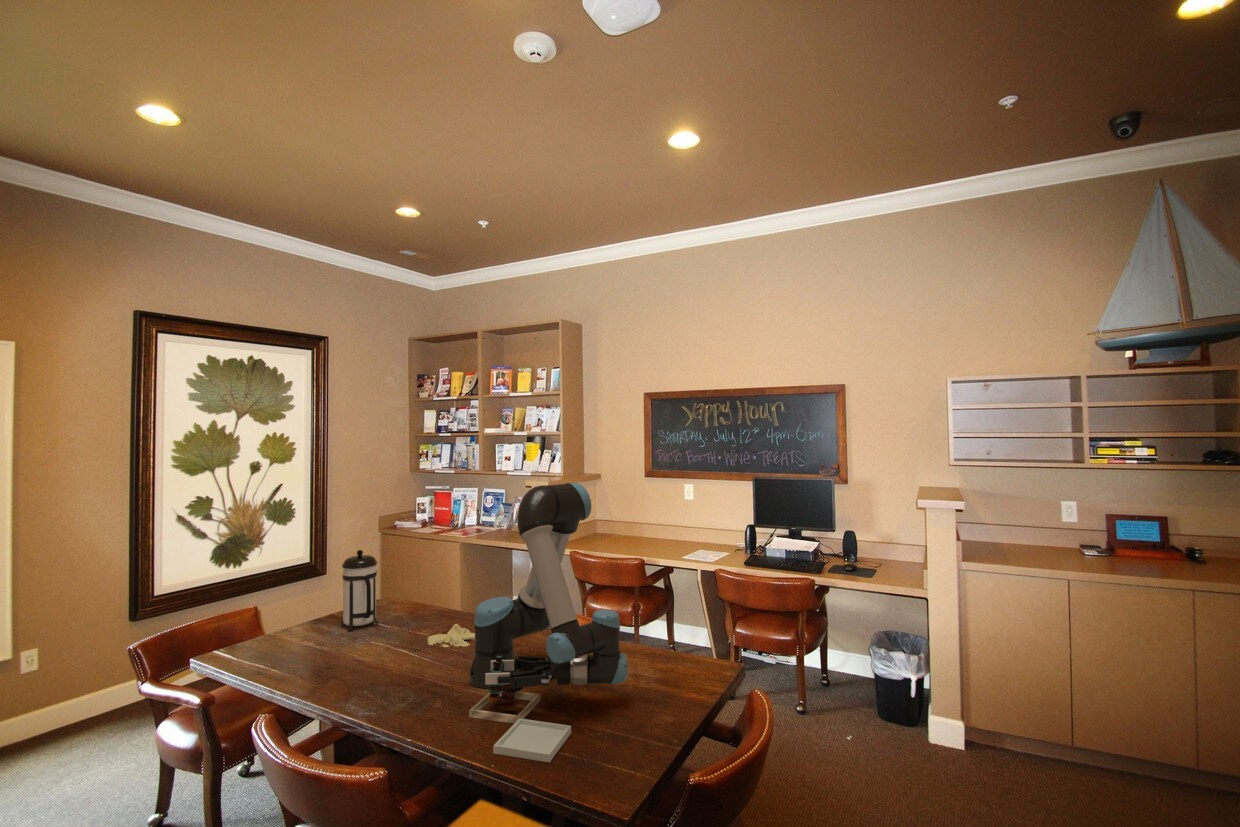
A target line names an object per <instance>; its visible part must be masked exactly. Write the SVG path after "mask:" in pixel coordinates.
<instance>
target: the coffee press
mask: <svg viewBox="0 0 1240 827" xmlns="http://www.w3.org/2000/svg"><path fill="white" fill-rule="evenodd" d="M377 564H378V560H376V558H375V557H374V556H373V555H368V554H364V551H363V550H362V549H359V550H357V552H356V555H353V556H350V557H347V558H346V559H345V560H344V561H343V563H342V565H341V566H342V567H341V568H342V571H343V572H342V594H343V595H342V596H343V597H342V603H343V604H342V616H343V617H342V619H343V620H342V622H341V624H340V625H341V626H342V625H343V624H345V625H346V626H348V627H347V632H353V631H354V629H355V627H359V626H360V627H361V626H365V625H368V624H371V625H372V626H373V627H377V626H378V625H379V621H378V620H377V572H378V571H377ZM374 622H375V623H374ZM345 625H344V626H345ZM374 625H376V626H374Z"/></svg>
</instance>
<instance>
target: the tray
mask: <svg viewBox="0 0 1240 827" xmlns="http://www.w3.org/2000/svg"><path fill="white" fill-rule="evenodd" d="M571 734H572V725H567V724H561V723H554V722H548V721H547V722H546V721H540V720H535V719H534V720H532V719H526V718H524V719H520V718H519V719H518V720H517V721H516V722H515V724H512V726H510V728H509V729H508V730H507V731H505V733H504V734H503V735H502V736H501V737H500V738H499V739H498V740H497V742H495V743H494V744H493V754H495V755H500V756H506V757H507V756H508V757H514V758H518V759H523V760H525V759H526V760H530V761H537V762H545V763H551V762H552V760H553V759H554V758H555V756H556V755H557V753H558V751H560V749H561V748H562V746H563V745H564V744H565V742H566V741H567V740H568V738H569V737H570V735H571Z"/></svg>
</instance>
